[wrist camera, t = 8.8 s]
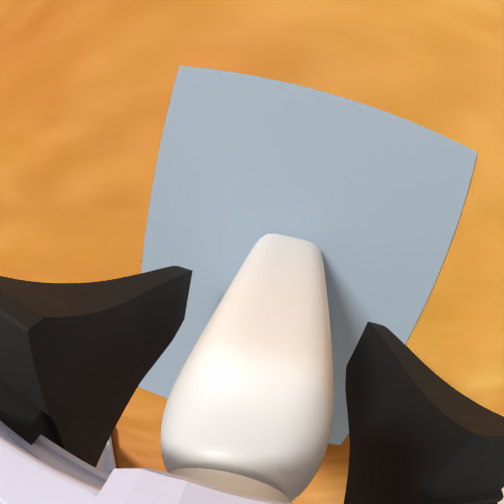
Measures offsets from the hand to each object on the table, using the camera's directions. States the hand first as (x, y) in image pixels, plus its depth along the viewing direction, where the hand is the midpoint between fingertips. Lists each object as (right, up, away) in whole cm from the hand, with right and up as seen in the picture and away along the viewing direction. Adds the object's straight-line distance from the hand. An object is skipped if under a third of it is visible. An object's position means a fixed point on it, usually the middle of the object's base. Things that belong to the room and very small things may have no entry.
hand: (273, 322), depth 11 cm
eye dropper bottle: (0, +1, +2) cm, 2 cm away
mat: (0, +1, +2) cm, 2 cm away
